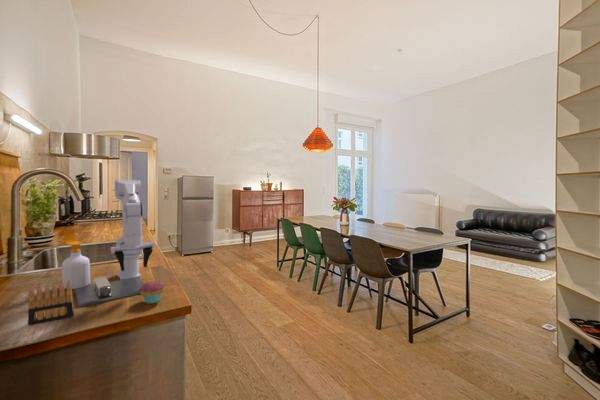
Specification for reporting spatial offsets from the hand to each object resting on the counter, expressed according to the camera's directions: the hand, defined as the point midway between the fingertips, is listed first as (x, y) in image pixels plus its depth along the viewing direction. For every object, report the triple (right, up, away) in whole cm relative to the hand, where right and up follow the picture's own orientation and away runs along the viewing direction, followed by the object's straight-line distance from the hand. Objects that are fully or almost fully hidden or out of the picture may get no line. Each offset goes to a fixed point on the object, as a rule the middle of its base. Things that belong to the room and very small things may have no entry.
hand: (134, 268), depth 110 cm
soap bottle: (-28, -9, +8) cm, 31 cm away
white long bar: (-12, -8, 0) cm, 15 cm away
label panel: (-10, -10, +2) cm, 14 cm away
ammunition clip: (-14, -11, -21) cm, 27 cm away
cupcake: (+10, -11, -5) cm, 16 cm away
